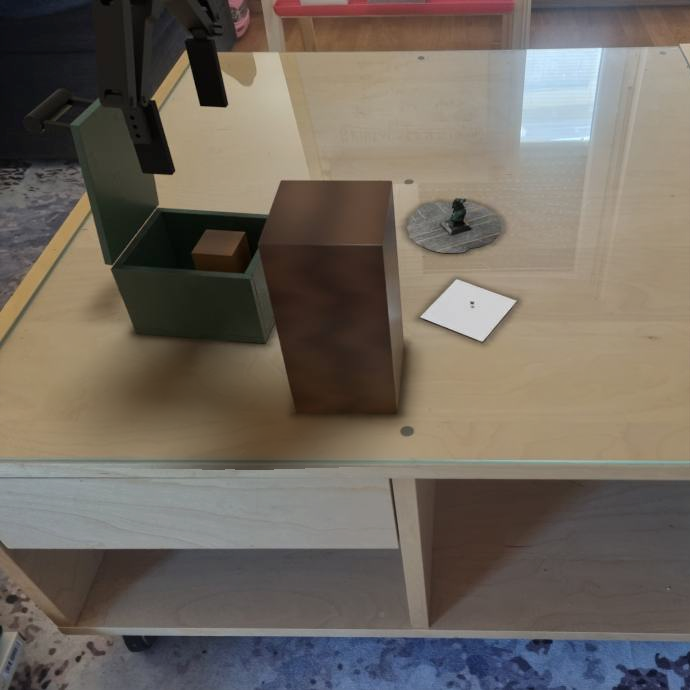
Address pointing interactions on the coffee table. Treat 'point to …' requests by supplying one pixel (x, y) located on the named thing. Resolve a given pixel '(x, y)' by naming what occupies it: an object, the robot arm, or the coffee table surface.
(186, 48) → the robot arm
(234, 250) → the block
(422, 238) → the sculpture
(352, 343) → the plinth
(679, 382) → the coffee table surface
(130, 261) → the green box
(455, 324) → the coaster
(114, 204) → the box lid
